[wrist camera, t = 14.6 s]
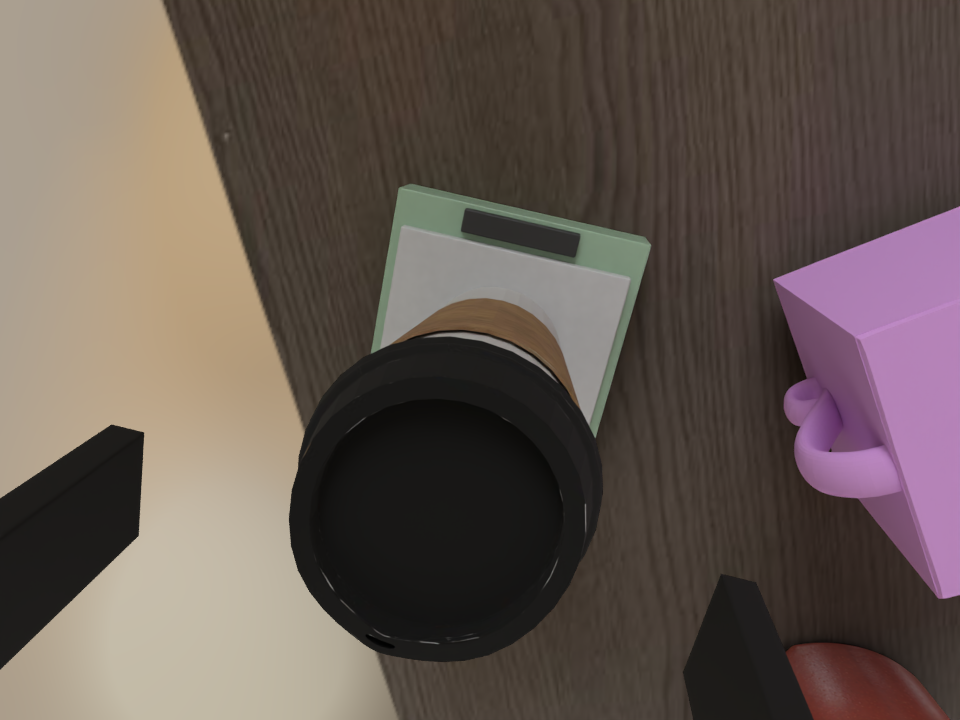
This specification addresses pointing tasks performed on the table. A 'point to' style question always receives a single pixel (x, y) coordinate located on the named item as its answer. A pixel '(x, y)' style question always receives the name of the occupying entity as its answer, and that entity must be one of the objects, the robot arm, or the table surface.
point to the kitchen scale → (515, 276)
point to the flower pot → (858, 685)
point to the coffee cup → (448, 484)
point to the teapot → (885, 386)
